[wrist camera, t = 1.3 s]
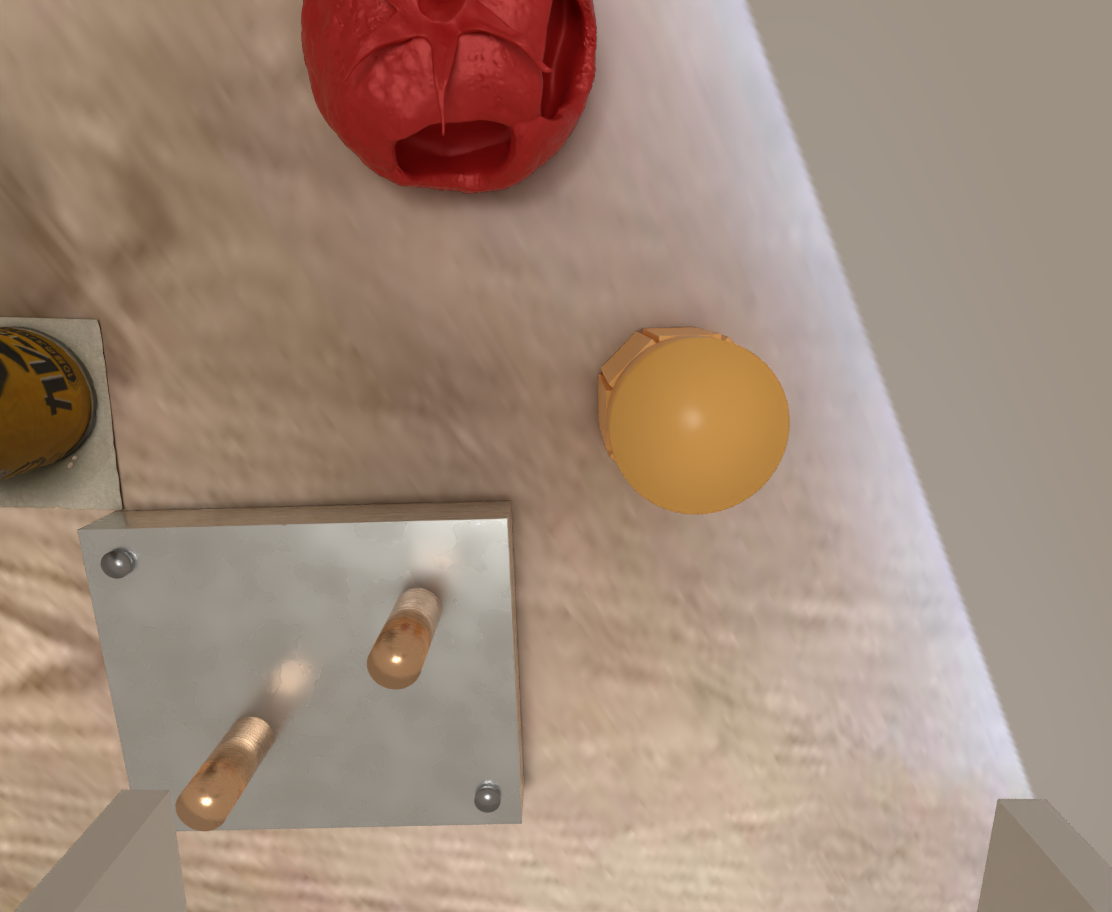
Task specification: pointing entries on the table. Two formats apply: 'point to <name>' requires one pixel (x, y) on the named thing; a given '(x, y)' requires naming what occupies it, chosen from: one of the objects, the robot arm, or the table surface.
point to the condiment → (55, 416)
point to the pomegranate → (451, 84)
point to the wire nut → (691, 418)
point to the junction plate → (314, 662)
